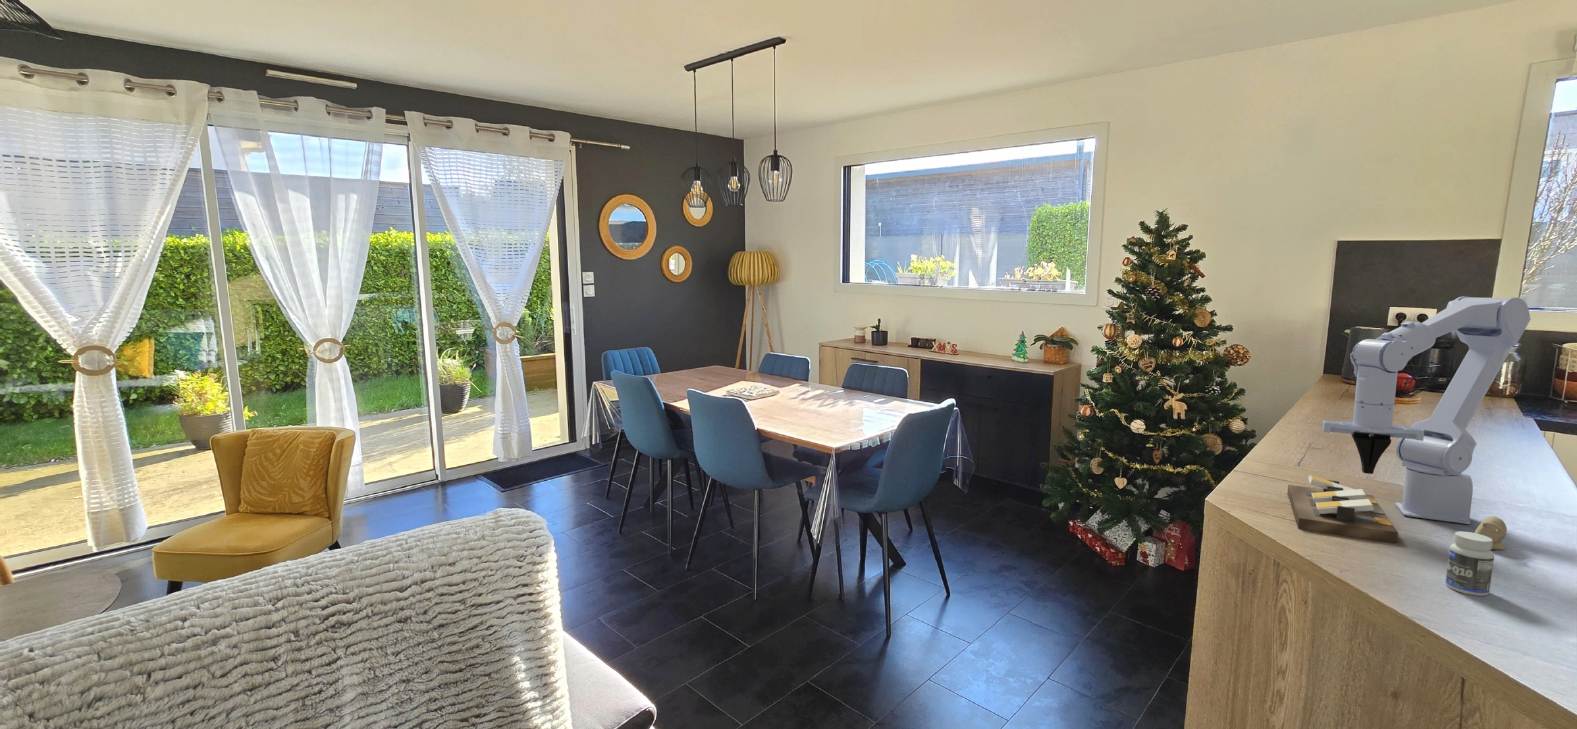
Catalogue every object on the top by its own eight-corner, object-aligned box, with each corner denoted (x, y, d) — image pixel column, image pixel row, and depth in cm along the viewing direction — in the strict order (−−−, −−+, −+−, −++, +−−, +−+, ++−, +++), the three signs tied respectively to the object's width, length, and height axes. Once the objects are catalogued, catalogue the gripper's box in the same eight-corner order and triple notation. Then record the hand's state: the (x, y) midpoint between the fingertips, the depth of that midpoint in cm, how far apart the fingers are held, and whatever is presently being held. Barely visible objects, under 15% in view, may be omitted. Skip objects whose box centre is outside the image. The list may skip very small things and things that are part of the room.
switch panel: (1371, 504, 139) (1373, 482, 139) (1396, 542, 119) (1399, 517, 119) (1287, 493, 147) (1289, 473, 146) (1298, 528, 127) (1300, 504, 126)
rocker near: (1369, 504, 126) (1368, 498, 126) (1373, 510, 123) (1372, 504, 123) (1316, 507, 130) (1315, 502, 130) (1319, 513, 127) (1317, 508, 127)
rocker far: (1354, 494, 138) (1356, 489, 138) (1357, 499, 135) (1360, 494, 135) (1308, 478, 142) (1310, 474, 142) (1310, 483, 139) (1312, 478, 138)
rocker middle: (1363, 493, 132) (1361, 488, 132) (1366, 499, 129) (1365, 493, 129) (1312, 497, 136) (1311, 492, 136) (1314, 503, 133) (1313, 497, 133)
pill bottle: (1436, 583, 104) (1442, 530, 103) (1464, 581, 104) (1470, 529, 103) (1469, 597, 99) (1476, 542, 98) (1499, 596, 99) (1505, 541, 98)
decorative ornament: (1507, 544, 118) (1511, 514, 118) (1500, 556, 113) (1504, 525, 113) (1474, 537, 122) (1478, 508, 121) (1466, 549, 116) (1470, 519, 116)
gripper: (1328, 402, 128) (1322, 471, 130) (1431, 409, 121) (1423, 483, 122) (1323, 397, 134) (1317, 463, 136) (1421, 403, 127) (1414, 473, 128)
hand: (1367, 472), depth 130 cm, fingers closed
